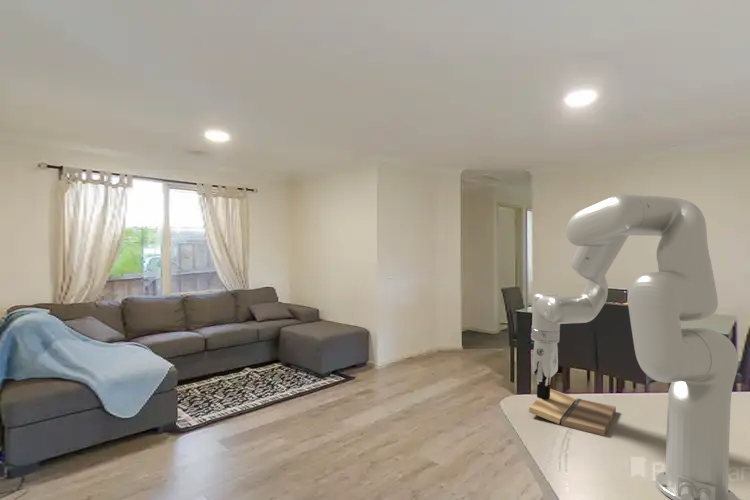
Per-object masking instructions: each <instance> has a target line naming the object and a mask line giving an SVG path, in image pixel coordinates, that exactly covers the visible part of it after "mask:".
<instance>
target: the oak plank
mask: <svg viewBox="0 0 750 500" xmlns="http://www.w3.org/2000/svg"><path fill="white" fill-rule="evenodd" d="M577 399H578V398H577V397H575V396H572V395H569V394H566V393H563V392H561V391H558V390H555V389H552V388H550V398H549V399H548V400H546V399H542V398H538V399H536V400H535V401H534V402H533V403H532V404H531V405H530V406H529V408H528V413H530V414H532V415H535V416H538V417H540V418H543V419H545V420H546V421H547V420H548V421H551V422H553V423H555V424H557V425H561V419H562V418H563V417H564V416H565V414H566V413H567V412H568V411H569V409H570V408H571V407H572V405H573V404H574V403H575V402H576V400H577Z"/></svg>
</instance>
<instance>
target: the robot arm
mask: <svg viewBox="0 0 750 500" xmlns="http://www.w3.org/2000/svg"><path fill="white" fill-rule="evenodd" d="M565 230H566V231H565V232H566V237H567V239H568V241H569V242H570V243H571V245H574V246H577V247H578V248H577V249H576V251H575V253H574V256H573V257H572V259H571V261H570V262H571V263H570V265H571V268H572V270H573V271H574V272H575V273H577V274H578V275H579V276H581V277H583V278H584V279H585V280H587V283H586V286H585V288H584V290H583V291H582V293H580V295H559V294H557V293H553V292H536V293H534V294H533V297H532V311H531V314H532V318H531V321H532V322H531V340H532V341H533V342H534V343H533V353H532V374H533V375H534V376H536V383H537V384H536V397H537V398H538V399H539V398H542V399H546V400H548V399H549V398H550V389H551V378H552V377H553V376H555V374H557V372H558V370H559V357H558V356H559V355H558V354H559V347H558V343H560V335H561V334H560V333H561V332H560V331H561V325H562V324H563V325H565V324H584V323H585V324H586V323H589V322H591V321H593V320H594V319H595V318H596V317H597V316H598V314H599V313H600V312H601V310H603V307H604V305H605V304H606V303H607V299H608V293H609V289H608V287H609V286H608V281H607V278H606V274H607V273H608V271H609V269H610V268H611V266H612V264H613V263H614V262H615V259H616V257H617V256H618V255H619V253H620V251H621V249H622V248H623V246H624V244H625V242H626V241H627V239H628V237H629V236H656V237H658V236H659V237H660V239H659V242H658V243H657V244H658V245H657V249H656V261H657V262H656V263H657V268H658V271H652V272H647V273H644V274H642V275H640V276H638V277H637V278H635V280H633V282H632V283H631V286H630V287H629V291H628V296H627V304H628V305H627V306H628V313H629V322H630V326H631V327H630V329H631V334H632V341H633V347H634V348H633V349H634V353H635V357H636V360H637V363H638V365H639V367H640V369H641V370H642V372H643V373H644V374H645V375H646V376H647V377H648V378H650V379H651V380H654V381H656V382H659V383H666V384H667V383H668V384H670V385H669V389H668V393H667V402H666V406H667V407H666V439H665V441H666V442H665V446H666V448H665V471H662V472H660V473H658V474H657V475H656V477H655V484H656V487H657V489H659V491H660V492H661V493H662V494H664V496H667V497H668V498H669V499H671V500H739V497H738V496H737V495H736V494H735V493H734V492H733V491H732V490H731V489H729V478H730V477H729V474H730V433H731V432H730V430H731V429H730V428H731V426H730V425H731V405H732V404H731V403H732V393H733V387H734V383H735V380H736V375H737V373H738V366H739V356H738V355H739V354H738V352H737V349H736V347H735V345H734V343H733V342H732V340H730V339H729V338H728V336H726V335H724V334H722V332H719V331H717V330H714V329H709V328H705V327H704V328H702V327H693V328H692V327H691V328H689V327H688V328H681V322H695V321H696V322H697V321H703V320H705V319H709V318H710V317H712V316H714V314H715V313H716V312H717V309H718V304H719V303H718V291H717V287H716V282H715V277H714V271H713V266H712V260H711V255H710V251H709V245H708V231H707V223H706V218H705V215H704V214H703V212H702V210H701V209H700V207H698V206H697V205H696V204H694V202H691V201H689V200H686V199H683V198H678V197H670V196H659V195H642V194H641V195H638V194H637V195H636V194H618V195H612V196H610V197H607V198H606V199H603V200H601V201H599V202H596V203H594V204H591V205H589V206H587V207H585V208H583V209H581V210H578V211H577V212H575V213H574V214H573V215H572V216H571V218H570V219H569V221H568V223H567V225H566V229H565Z"/></svg>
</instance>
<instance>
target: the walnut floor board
mask: <svg viewBox="0 0 750 500" xmlns="http://www.w3.org/2000/svg"><path fill="white" fill-rule="evenodd" d="M616 411H617V407H616V406H614V405H611V404H610V405H609V404H605V403H601V402H596V401H591V400H586V399H581V398H577V399H576V402H575V403H574V404H573V405H572V407H571V408H570V409H569V411H568V412H567V413H566V414H565V416H564V417H563V418H562V419H561V423H560V425H561V426H563V427H567V428H569V429H570V428H571V429H575V430H579V431H583V432H585V433H586V432H588V433H589V434H590V433H591V434H593V435H594V434H595V435H599V436H603V437H604V436H605V435H606V432H607V431H608V429H609V426H610V425H611V423H612V421H613V419H614V416H615V414H616Z"/></svg>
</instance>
